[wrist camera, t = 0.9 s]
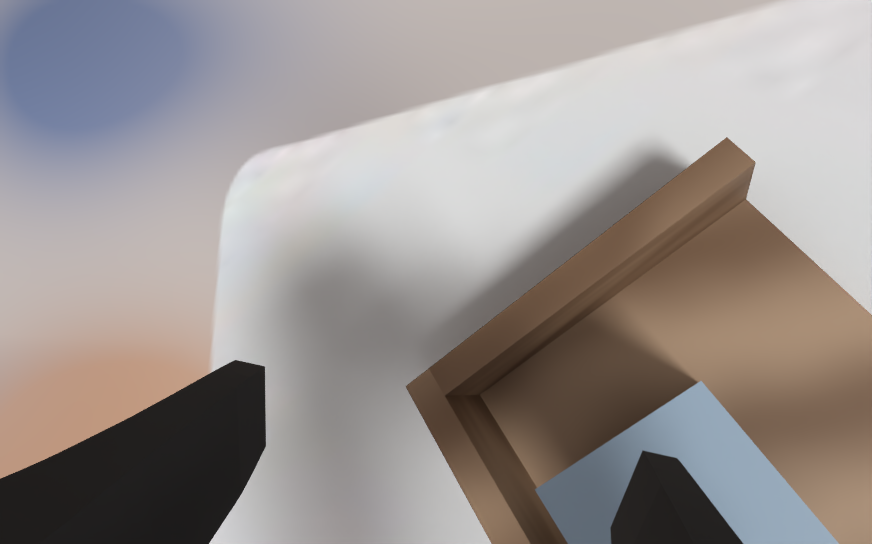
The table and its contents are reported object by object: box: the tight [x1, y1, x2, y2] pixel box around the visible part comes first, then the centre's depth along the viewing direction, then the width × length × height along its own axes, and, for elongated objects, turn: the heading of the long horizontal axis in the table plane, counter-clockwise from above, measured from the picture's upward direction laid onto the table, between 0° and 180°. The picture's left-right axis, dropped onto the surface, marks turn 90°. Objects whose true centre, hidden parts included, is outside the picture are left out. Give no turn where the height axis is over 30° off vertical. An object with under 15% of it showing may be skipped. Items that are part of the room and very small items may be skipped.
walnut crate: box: [406, 137, 872, 544], centre depth 16 cm, size 16×14×4 cm
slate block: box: [535, 381, 839, 544], centre depth 15 cm, size 5×5×7 cm
